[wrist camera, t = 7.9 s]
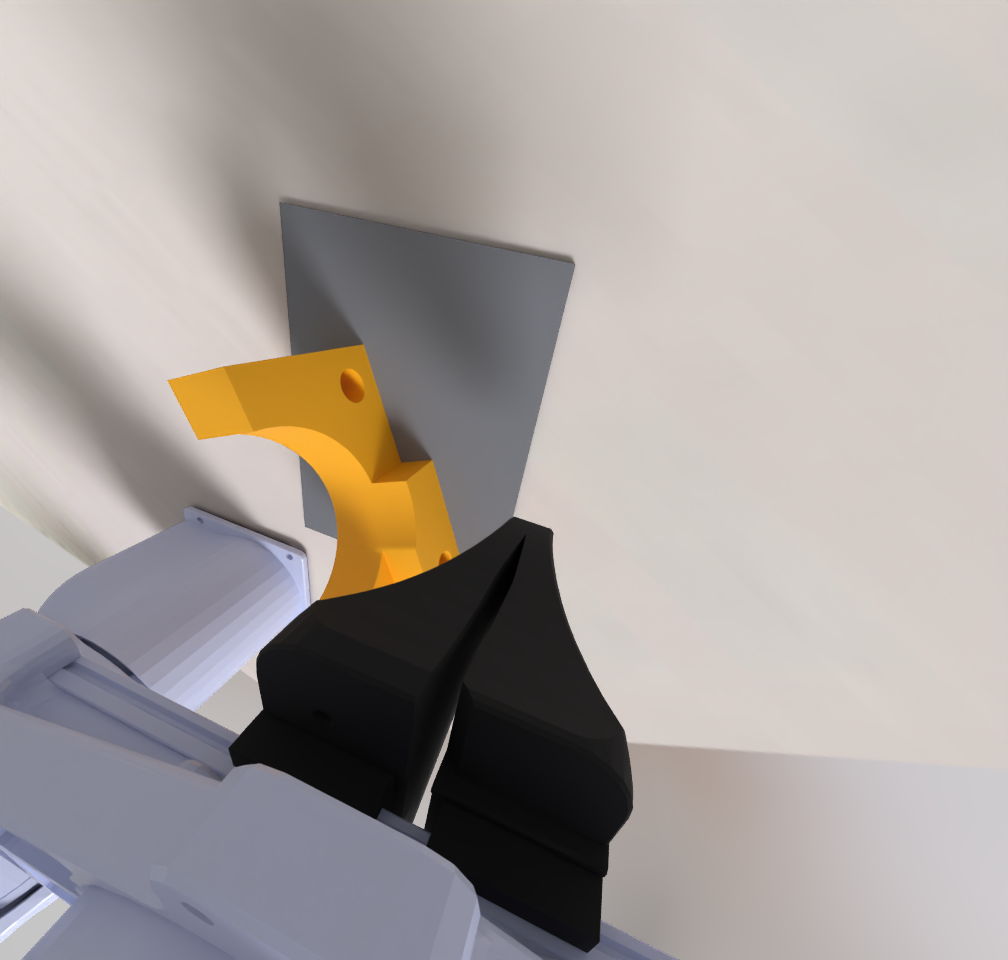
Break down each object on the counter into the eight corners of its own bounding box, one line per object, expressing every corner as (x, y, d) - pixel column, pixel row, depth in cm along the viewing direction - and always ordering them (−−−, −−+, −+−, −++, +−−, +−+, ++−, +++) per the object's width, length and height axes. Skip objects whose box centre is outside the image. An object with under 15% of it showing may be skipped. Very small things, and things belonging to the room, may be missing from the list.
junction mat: (307, 525, 23) (304, 526, 22) (283, 203, 15) (279, 202, 15) (493, 596, 20) (491, 598, 20) (575, 264, 13) (574, 263, 13)
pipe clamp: (464, 571, 20) (399, 676, 14) (396, 569, 22) (315, 663, 16) (397, 336, 16) (267, 355, 10) (318, 354, 17) (167, 380, 12)
